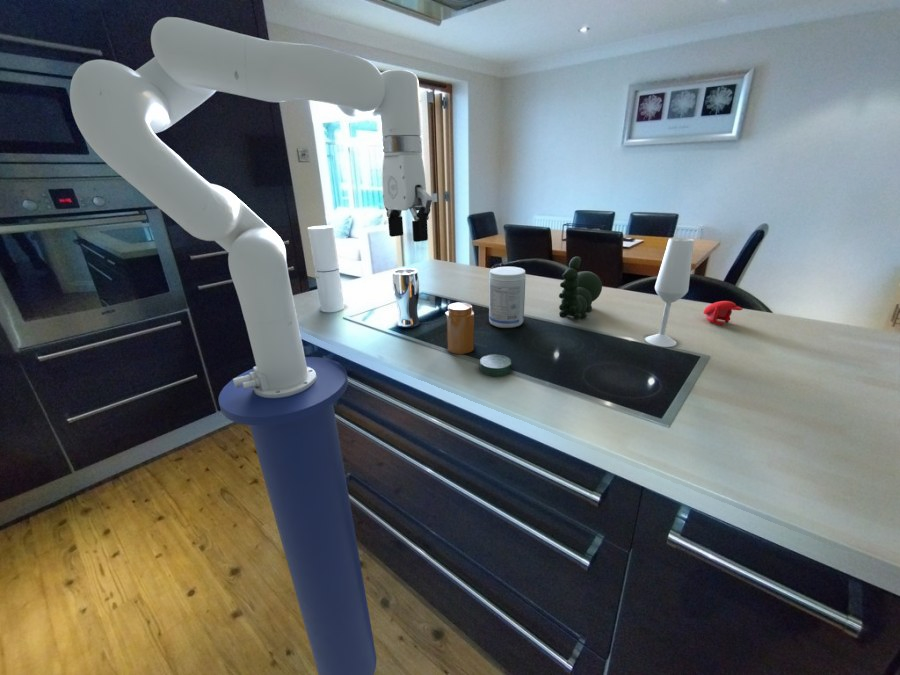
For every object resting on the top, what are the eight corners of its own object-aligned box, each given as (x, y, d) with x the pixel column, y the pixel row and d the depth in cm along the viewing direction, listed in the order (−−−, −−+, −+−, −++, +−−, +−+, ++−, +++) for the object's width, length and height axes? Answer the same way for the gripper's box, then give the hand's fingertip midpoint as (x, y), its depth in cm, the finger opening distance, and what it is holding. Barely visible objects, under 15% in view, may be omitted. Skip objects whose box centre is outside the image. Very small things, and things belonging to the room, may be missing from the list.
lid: (516, 366, 83) (516, 358, 82) (502, 379, 78) (502, 371, 77) (488, 359, 87) (489, 351, 86) (474, 371, 81) (474, 363, 81)
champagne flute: (656, 348, 90) (677, 242, 80) (639, 336, 96) (657, 237, 86) (683, 345, 90) (707, 240, 81) (664, 334, 97) (684, 236, 87)
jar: (459, 356, 88) (458, 312, 84) (441, 348, 93) (440, 306, 89) (479, 348, 92) (479, 306, 88) (461, 340, 97) (461, 300, 92)
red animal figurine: (701, 324, 102) (706, 302, 100) (701, 317, 107) (706, 296, 105) (738, 329, 98) (744, 306, 96) (736, 321, 103) (742, 300, 101)
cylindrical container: (335, 313, 119) (322, 229, 109) (316, 311, 121) (302, 228, 111) (348, 306, 125) (337, 225, 115) (330, 304, 127) (318, 225, 117)
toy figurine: (582, 334, 102) (605, 300, 120) (589, 264, 93) (612, 239, 112) (547, 328, 107) (574, 296, 125) (551, 261, 98) (579, 237, 116)
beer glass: (400, 330, 104) (396, 275, 98) (393, 322, 110) (388, 270, 104) (424, 326, 107) (421, 272, 101) (416, 318, 112) (413, 267, 107)
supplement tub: (499, 314, 113) (500, 264, 108) (529, 320, 108) (532, 268, 102) (482, 325, 106) (482, 272, 100) (513, 331, 101) (515, 276, 95)
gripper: (364, 150, 79) (373, 236, 86) (409, 144, 66) (414, 245, 73) (397, 150, 83) (402, 232, 90) (444, 145, 71) (446, 241, 77)
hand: (408, 238), depth 82 cm, fingers open, 9 cm apart
